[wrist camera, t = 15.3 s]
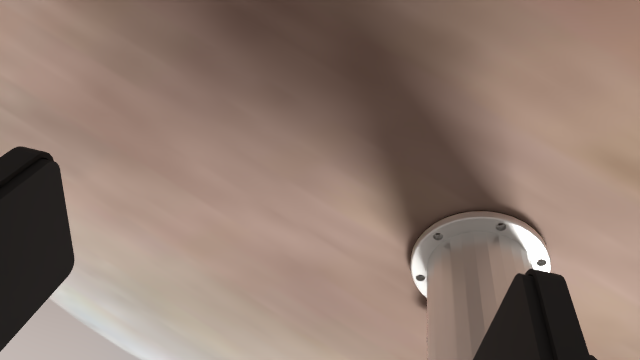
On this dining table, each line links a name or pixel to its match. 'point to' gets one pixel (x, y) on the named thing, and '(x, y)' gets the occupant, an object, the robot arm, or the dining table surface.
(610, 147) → the dining table surface
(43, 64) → the dining table surface
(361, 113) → the dining table surface
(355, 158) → the dining table surface
